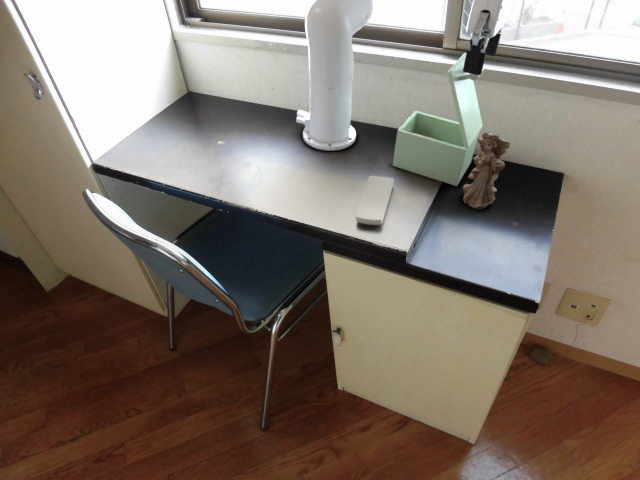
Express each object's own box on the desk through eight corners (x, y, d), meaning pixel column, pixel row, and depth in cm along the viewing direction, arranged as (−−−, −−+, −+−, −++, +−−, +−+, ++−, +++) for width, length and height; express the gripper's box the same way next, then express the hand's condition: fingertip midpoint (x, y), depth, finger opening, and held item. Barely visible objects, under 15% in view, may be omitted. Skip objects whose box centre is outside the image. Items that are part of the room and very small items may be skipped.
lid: (447, 72, 86) (471, 66, 83) (463, 53, 92) (486, 48, 89) (464, 148, 93) (487, 146, 90) (479, 126, 99) (500, 123, 97)
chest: (392, 165, 104) (397, 130, 98) (409, 144, 111) (415, 110, 105) (456, 186, 99) (466, 150, 93) (470, 163, 105) (480, 128, 99)
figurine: (451, 200, 96) (469, 134, 85) (464, 186, 99) (482, 121, 89) (486, 215, 92) (508, 148, 82) (498, 200, 96) (521, 134, 86)
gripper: (495, -56, 82) (472, 44, 94) (465, -35, 71) (444, 76, 83) (540, -51, 79) (511, 51, 91) (516, -28, 68) (487, 86, 80)
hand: (479, 63), depth 87 cm, fingers open, 9 cm apart
